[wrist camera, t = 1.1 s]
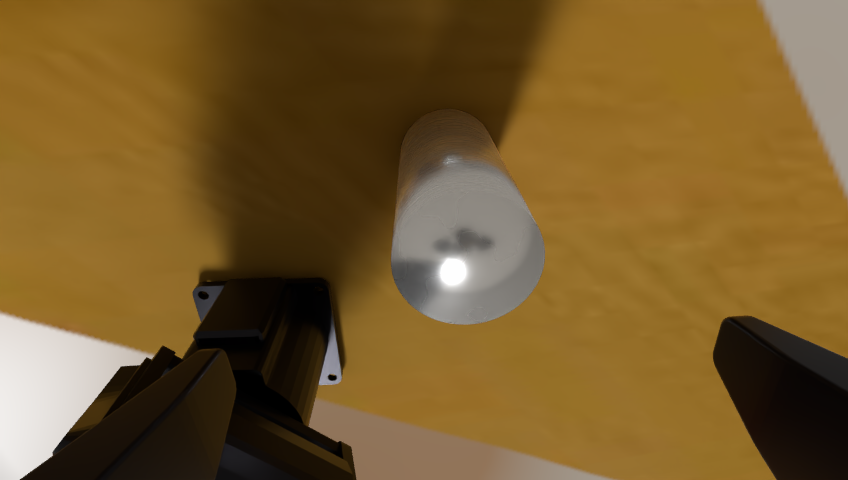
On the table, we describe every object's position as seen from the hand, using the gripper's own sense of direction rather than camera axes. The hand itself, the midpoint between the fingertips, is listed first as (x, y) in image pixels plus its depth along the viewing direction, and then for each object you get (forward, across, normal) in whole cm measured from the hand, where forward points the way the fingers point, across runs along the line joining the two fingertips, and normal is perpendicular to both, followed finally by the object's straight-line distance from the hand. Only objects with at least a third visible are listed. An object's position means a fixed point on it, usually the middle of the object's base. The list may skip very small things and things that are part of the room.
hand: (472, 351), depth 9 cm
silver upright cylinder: (+13, 0, 0) cm, 13 cm away
